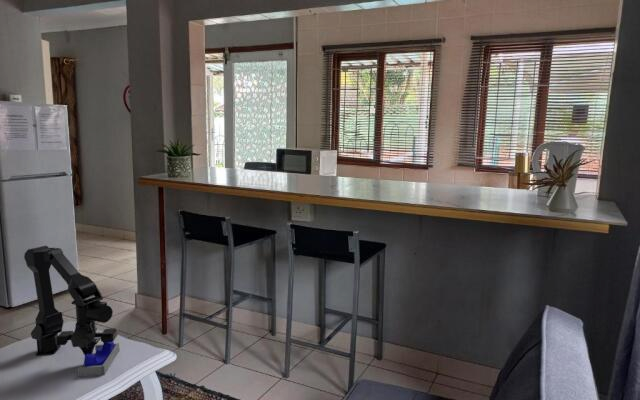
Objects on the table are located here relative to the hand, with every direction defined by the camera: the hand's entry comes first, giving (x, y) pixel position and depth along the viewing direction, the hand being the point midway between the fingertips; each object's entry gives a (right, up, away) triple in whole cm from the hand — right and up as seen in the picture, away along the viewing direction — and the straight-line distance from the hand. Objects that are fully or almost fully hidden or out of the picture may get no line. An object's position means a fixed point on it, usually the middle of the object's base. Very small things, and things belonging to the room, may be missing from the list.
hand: (88, 359), depth 162 cm
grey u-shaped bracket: (+4, -1, +1) cm, 4 cm away
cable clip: (+3, -2, 0) cm, 3 cm away
